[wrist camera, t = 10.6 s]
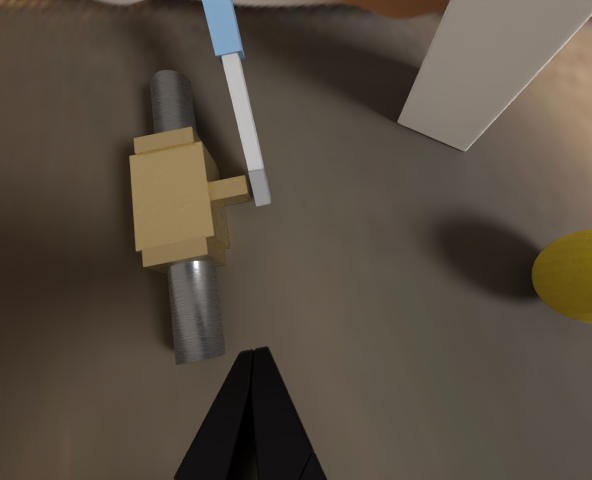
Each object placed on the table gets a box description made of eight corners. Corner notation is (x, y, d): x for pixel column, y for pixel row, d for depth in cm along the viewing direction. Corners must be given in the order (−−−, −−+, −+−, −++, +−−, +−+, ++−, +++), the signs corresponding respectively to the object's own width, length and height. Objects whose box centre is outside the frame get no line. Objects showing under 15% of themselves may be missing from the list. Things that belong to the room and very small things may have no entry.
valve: (278, 341, 22) (271, 347, 18) (173, 362, 22) (142, 373, 18) (234, 86, 28) (221, 46, 23) (150, 104, 28) (121, 67, 23)
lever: (284, 201, 21) (213, -142, 16) (242, 210, 21) (155, -130, 16) (283, 193, 24) (223, -99, 18) (246, 201, 24) (173, -89, 18)
